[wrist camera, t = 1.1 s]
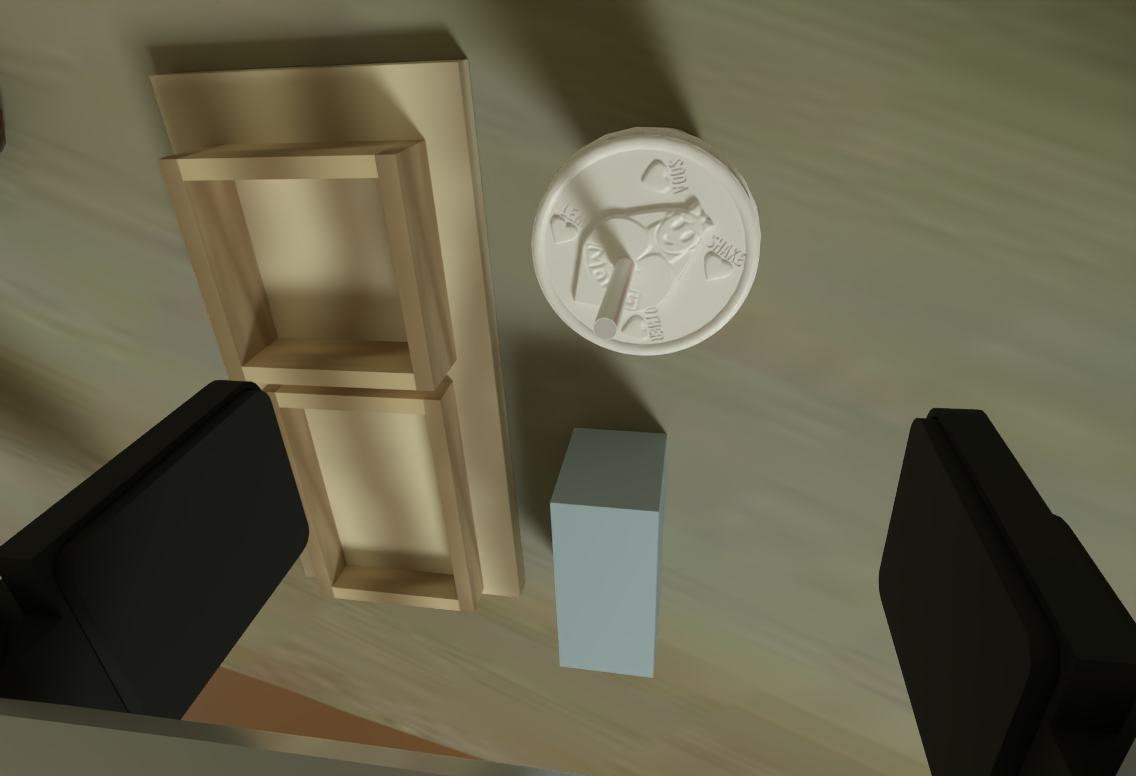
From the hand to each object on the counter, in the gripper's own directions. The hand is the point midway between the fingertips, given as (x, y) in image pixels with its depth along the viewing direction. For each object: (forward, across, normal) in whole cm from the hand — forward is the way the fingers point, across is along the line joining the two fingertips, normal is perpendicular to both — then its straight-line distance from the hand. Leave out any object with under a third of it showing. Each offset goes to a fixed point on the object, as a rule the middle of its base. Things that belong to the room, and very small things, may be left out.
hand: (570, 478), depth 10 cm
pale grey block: (+20, +2, +17) cm, 26 cm away
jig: (+20, +14, +9) cm, 26 cm away
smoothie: (+20, 0, 0) cm, 20 cm away
